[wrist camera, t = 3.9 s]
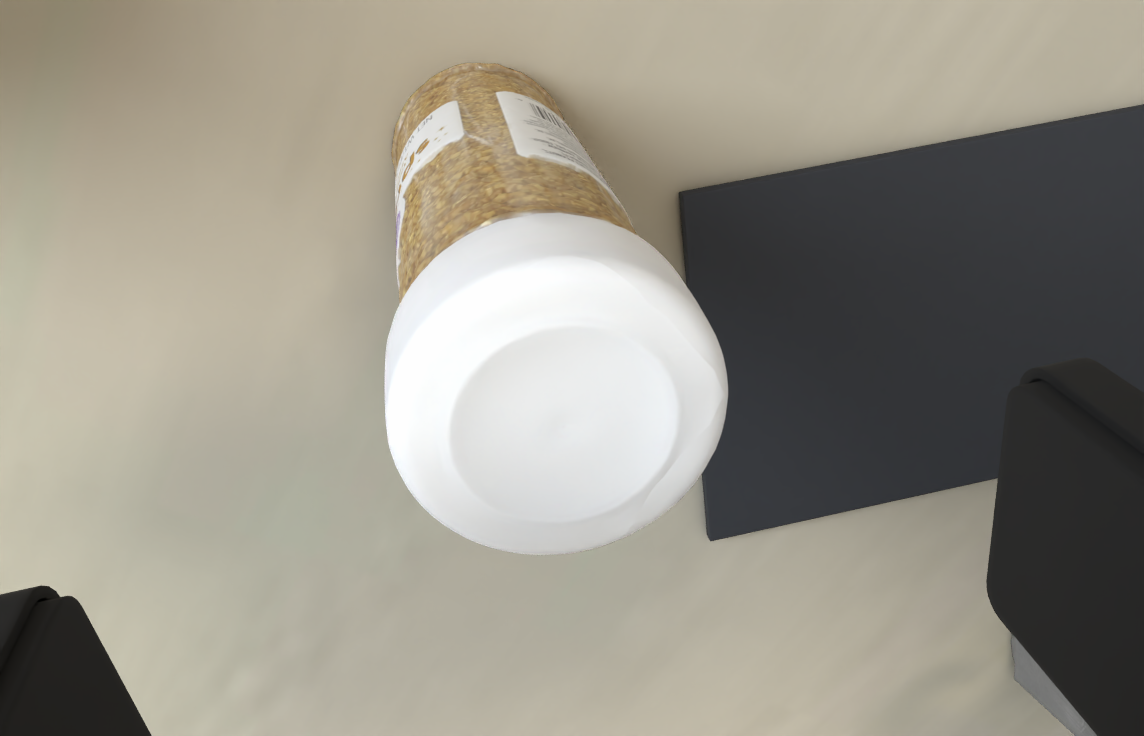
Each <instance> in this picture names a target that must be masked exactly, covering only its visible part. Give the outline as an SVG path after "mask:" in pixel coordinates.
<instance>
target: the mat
mask: <svg viewBox="0 0 1144 736" xmlns="http://www.w3.org/2000/svg"><path fill="white" fill-rule="evenodd" d="M679 198H680V210H681V222H682V234H683V247H684V259H685V271H686V284H687V288H688V289H689V291H690V292H691V294H692V295H693V297H694V298H695V300H696V301H697V303H698V305H699V306H700V308H701V310H702V311H703V313H704V315H705V316H706V318H707V320H708V322H709V324H710V325H711V327H712V329H713V331H714V333H715V335H716V337H717V340H718V342H719V345H720V347H721V350H722V354H723V357H724V362H725V367H726V371H727V381H728V400H727V409H726V416H725V421H724V425H723V429H722V434H721V436H720V439H719V442H718V444H717V447H716V450H715V452H714V453H713V455H712V457H711V459H710V461H709V462H708V464H707V466H706V468H705V469H704V471H703V473H702V480H703V492H704V504H705V516H706V529H707V535H708V538H709V540H710V541H714V540H719V539H723V538H728V537H732V536H737V535H741V534H746V533H750V532H755V531H759V530H764V529H769V528H773V527H778V526H782V525H787V524H791V523H796V522H800V521H805V520H810V519H814V518H819V517H823V516H828V515H832V514H837V513H841V512H846V511H850V510H855V509H860V508H864V507H869V506H873V505H878V504H882V503H887V502H891V501H896V500H900V499H905V498H910V497H914V496H919V495H923V494H928V493H932V492H937V491H941V490H946V489H950V488H955V487H960V486H964V485H969V484H973V483H978V482H982V481H987V480H991V479H996V478H998V474H999V465H1000V457H1001V448H1002V439H1003V430H1004V421H1005V412H1006V403H1007V398H1008V394H1009V392H1010V391H1011V389H1012V388H1014V387H1016V386H1019V384H1020V380H1021V378H1022V376H1023V375H1024V373H1025V372H1026V371H1028V370H1030V369H1032V368H1035V367H1040V366H1044V365H1049V364H1054V363H1058V362H1063V361H1067V360H1072V359H1076V358H1090V359H1092V360H1094V361H1097V362H1098V363H1100V364H1101V365H1103V366H1104V367H1106V368H1107V369H1109V370H1110V371H1112V372H1113V373H1115V374H1116V375H1118V376H1119V377H1121V378H1122V379H1124V380H1125V381H1127V382H1128V383H1130V384H1131V385H1133V386H1134V387H1136V388H1137V389H1139V390H1140V391H1142V392H1143V393H1144V104H1143V105H1138V106H1133V107H1127V108H1122V109H1117V110H1112V111H1106V112H1101V113H1096V114H1090V115H1085V116H1080V117H1074V118H1069V119H1064V120H1059V121H1053V122H1048V123H1043V124H1037V125H1032V126H1027V127H1021V128H1016V129H1011V130H1005V131H1000V132H995V133H990V134H984V135H979V136H974V137H968V138H963V139H958V140H952V141H947V142H942V143H937V144H931V145H926V146H921V147H915V148H910V149H905V150H899V151H894V152H889V153H883V154H878V155H873V156H868V157H862V158H857V159H852V160H846V161H841V162H836V163H830V164H825V165H820V166H815V167H809V168H804V169H799V170H793V171H788V172H783V173H777V174H772V175H767V176H761V177H756V178H751V179H746V180H740V181H735V182H730V183H724V184H719V185H714V186H708V187H703V188H698V189H693V190H687V191H682V192H680V193H679Z"/></svg>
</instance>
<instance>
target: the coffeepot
mask: <svg viewBox="0 0 1144 736" xmlns="http://www.w3.org/2000/svg"><path fill="white" fill-rule="evenodd" d="M1011 647H1012V657H1013V660H1014V663H1015V672H1014V680H1016V681H1017V682H1018V683H1019V684H1020V685H1021V686H1022V687H1023V688H1024V689H1025V690H1026V691H1027V692H1029V693H1030V694H1031V695H1032V696H1033V697H1034V698H1035V699H1036V700H1037V701H1038V702H1039V703H1040V704H1041V705H1043V706H1044V707H1045V708H1046V709H1047V710H1048V711H1049V712H1050V713H1051V714H1052V715H1053V716H1054V717H1056V718H1057V719H1058V720H1059V721H1060V722H1061V723H1062V724H1063V725H1064V726H1065V727H1066V728H1067V729H1068V730H1070V731H1071V732H1072V733H1073V734H1074V735H1075V736H1097V735H1096V734H1095V732H1094V731H1093V730H1092V729H1091V728H1090V726H1089V725H1088V724H1087V723H1086V722H1085V721H1084V719H1083V718H1082V717H1081V716H1080V715H1079V713H1078V712H1077V711H1076V710H1075V709H1074V707H1073V706H1072V705H1071V704H1070V703H1069V701H1068V700H1067V699H1066V698H1065V697H1064V695H1063V694H1062V693H1061V692H1060V691H1059V689H1058V688H1057V687H1056V686H1055V685H1054V683H1053V682H1052V681H1051V680H1050V679H1049V677H1048V676H1047V675H1046V674H1045V673H1044V671H1043V670H1042V669H1041V668H1040V667H1039V665H1038V664H1037V663H1036V662H1035V661H1034V659H1033V658H1032V657H1031V656H1030V655H1029V653H1028V652H1027V651H1026V650H1025V649H1024V647H1023V646H1022V645H1021V644H1020V643H1019V641H1018V640H1017V639H1016V638H1015V637H1014V635H1013V634H1012V640H1011Z"/></svg>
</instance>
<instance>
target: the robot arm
mask: <svg viewBox="0 0 1144 736" xmlns="http://www.w3.org/2000/svg"><path fill="white" fill-rule="evenodd" d="M987 592H988V597H989V600H990V603H991V605H992V607H993V609H994V611H995V613H996V614H997V616H998V617H999V619H1000V620H1001V621H1002V622H1003V623H1004V625H1005V626H1006V627H1007V628H1008V629H1009V631H1010V632H1011V633H1012V634H1013V635H1014V637H1015V638H1016V639H1017V640H1018V641H1019V643H1020V644H1021V645H1022V646H1023V647H1024V649H1025V650H1026V651H1027V652H1028V653H1029V655H1030V656H1031V657H1032V658H1033V659H1034V661H1035V662H1036V663H1037V664H1038V665H1039V667H1040V668H1041V669H1042V670H1043V671H1044V673H1045V674H1046V675H1047V676H1048V677H1049V679H1050V680H1051V681H1052V682H1053V683H1054V685H1055V686H1056V687H1057V688H1058V689H1059V691H1060V692H1061V693H1062V694H1063V695H1064V697H1065V698H1066V699H1067V700H1068V701H1069V703H1070V704H1071V705H1072V706H1073V707H1074V709H1075V710H1076V711H1077V712H1078V713H1079V715H1080V716H1081V717H1082V718H1083V719H1084V721H1085V722H1086V723H1087V724H1088V725H1089V726H1090V728H1091V729H1092V730H1093V731H1094V732H1095V734H1096V735H1097V736H1144V393H1143V392H1142V391H1140V390H1139V389H1137V388H1136V387H1134V386H1133V385H1131V384H1130V383H1128V382H1127V381H1125V380H1124V379H1122V378H1121V377H1119V376H1118V375H1116V374H1115V373H1113V372H1112V371H1110V370H1109V369H1107V368H1106V367H1104V366H1103V365H1101V364H1100V363H1098V362H1097V361H1094V360H1092V359H1090V358H1076V359H1072V360H1067V361H1063V362H1058V363H1054V364H1049V365H1044V366H1040V367H1035V368H1032V369H1030V370H1028V371H1026V372H1025V373H1024V375H1023V376H1022V378H1021V380H1020V384H1019V386H1016V387H1014V388H1012V389H1011V391H1010V392H1009V394H1008V398H1007V403H1006V412H1005V421H1004V430H1003V439H1002V448H1001V457H1000V465H999V474H998V483H997V492H996V501H995V510H994V519H993V528H992V537H991V546H990V554H989V563H988V572H987ZM0 736H151V734H150V732H149V730H148V728H147V726H146V725H145V723H144V721H143V719H142V717H141V715H140V713H139V712H138V710H137V708H136V706H135V704H134V702H133V700H132V699H131V697H130V695H129V693H128V691H127V689H126V687H125V686H124V684H123V682H122V680H121V678H120V676H119V674H118V673H117V671H116V669H115V667H114V665H113V663H112V661H111V660H110V658H109V656H108V654H107V652H106V650H105V648H104V647H103V645H102V643H101V641H100V639H99V637H98V635H97V634H96V632H95V630H94V628H93V626H92V624H91V622H90V621H89V619H88V617H87V615H86V613H85V611H84V609H83V608H82V606H81V605H80V603H79V602H78V600H76V599H75V598H74V597H72V596H64V597H60V596H59V595H58V593H57V592H56V591H55V590H53V589H52V588H50V587H49V586H37V587H33V588H28V589H24V590H19V591H15V592H10V593H6V594H1V595H0Z"/></svg>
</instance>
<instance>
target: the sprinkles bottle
mask: <svg viewBox="0 0 1144 736" xmlns="http://www.w3.org/2000/svg"><path fill="white" fill-rule="evenodd" d="M392 161H393V165H394V169H395V176H396V180H395V209H396V264H397V282H398V286H399V301H400V305H399V307H398V309H397V311H396V313H395V316H394V320H393V323H392V326H391V329H390V332H389V336H388V340H387V348H386V356H385V416H386V428H387V437H388V443H389V447H390V451H391V455H392V457H393V460H394V463H395V465H396V468H397V470H398V471H399V473H400V475H401V477H402V479H403V481H404V483H405V484H406V486H407V488H408V489H409V491H410V492H411V493H412V495H413V496H414V497H415V499H416V500H417V501H418V502H419V503H420V505H421V506H422V507H423V508H425V509H426V510H427V511H428V512H429V513H430V514H431V515H432V516H433V517H434V518H435V519H437V520H438V521H439V522H441V523H442V524H443V525H445V526H446V527H448V528H449V529H451V530H452V531H454V532H456V533H458V534H459V535H461V536H463V537H465V538H467V539H469V540H471V541H473V542H476V543H478V544H481V545H484V546H487V547H490V548H494V549H498V550H502V551H506V552H512V553H520V554H528V555H558V554H569V553H577V552H582V551H587V550H591V549H594V548H598V547H601V546H604V545H607V544H610V543H612V542H615V541H617V540H620V539H622V538H625V537H627V536H629V535H631V534H633V533H635V532H636V531H638V530H640V529H642V528H644V527H645V526H647V525H649V524H650V523H652V522H653V521H655V520H656V519H657V518H659V517H660V516H661V515H663V514H664V513H665V512H667V511H668V510H669V509H670V508H672V507H673V506H674V505H675V504H676V503H677V502H678V501H680V499H681V498H682V497H683V496H684V495H685V494H686V493H687V492H688V491H689V490H690V488H691V487H692V486H693V485H694V484H695V483H696V481H697V480H698V478H699V477H700V475H701V474H702V473H703V471H704V469H705V468H706V466H707V464H708V462H709V461H710V459H711V457H712V455H713V453H714V452H715V450H716V447H717V444H718V442H719V439H720V436H721V434H722V429H723V425H724V421H725V416H726V409H727V400H728V381H727V371H726V367H725V362H724V357H723V354H722V350H721V347H720V345H719V342H718V340H717V337H716V335H715V333H714V331H713V329H712V327H711V325H710V324H709V322H708V320H707V318H706V316H705V315H704V313H703V311H702V310H701V308H700V306H699V305H698V303H697V301H696V300H695V298H694V297H693V295H692V294H691V292H690V291H689V289H688V288H687V286H686V285H685V283H684V282H683V280H682V279H681V277H680V276H679V274H678V273H677V271H676V270H675V269H674V268H673V267H672V265H671V264H670V263H669V262H668V260H667V259H666V258H664V257H663V256H662V255H661V254H660V253H659V252H658V251H657V250H656V249H655V248H654V247H653V246H652V245H650V244H649V243H648V242H646V241H645V240H643V239H642V238H640V237H639V236H637V234H636V232H635V230H634V229H633V226H632V223H631V221H630V219H629V216H628V214H627V213H626V211H625V209H624V207H623V206H622V204H621V203H620V201H619V200H618V198H617V197H616V195H615V194H614V193H613V191H612V190H611V188H610V187H609V185H608V184H607V182H606V181H605V179H604V178H603V176H602V175H601V174H600V172H599V171H598V169H597V168H596V166H595V165H594V163H593V161H592V160H591V158H590V157H589V155H588V154H587V152H586V151H585V149H584V148H583V146H582V145H581V143H580V142H579V140H578V139H577V138H576V136H575V135H574V133H573V132H572V130H571V129H570V128H569V127H568V125H567V124H566V123H565V122H564V119H563V116H562V114H561V113H560V111H559V109H558V107H557V105H556V103H555V102H554V100H553V99H552V98H551V96H550V95H549V94H548V93H547V92H546V91H545V90H544V89H543V88H542V87H541V86H539V85H538V84H537V83H536V82H535V81H533V80H532V79H531V78H529V77H528V76H526V75H525V74H523V73H521V72H518V71H515V70H513V69H510V68H506V67H503V66H501V65H499V64H483V63H464V64H459V65H456V66H453V67H451V68H449V69H446V70H444V71H442V72H440V73H438V74H437V75H435V76H433V77H432V78H430V79H429V80H428V81H427V82H426V83H425V84H424V85H422V86H421V87H420V88H419V89H418V90H417V91H416V92H415V93H414V94H413V95H412V96H411V97H410V98H409V100H408V101H407V103H406V104H405V106H404V107H403V110H402V112H401V114H400V117H399V119H398V122H397V124H396V127H395V132H394V138H393V146H392Z"/></svg>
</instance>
